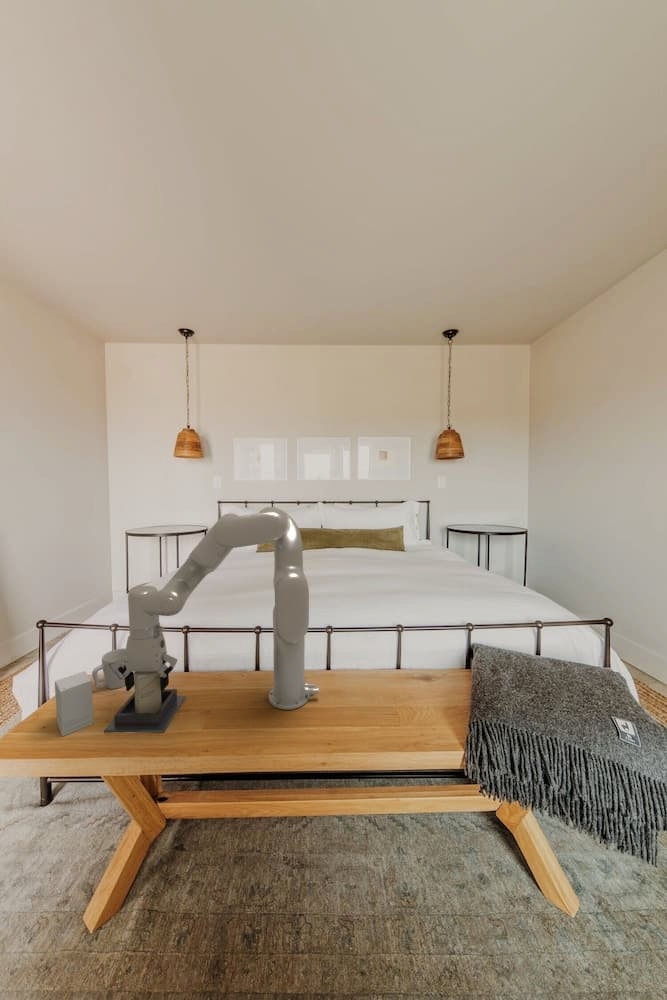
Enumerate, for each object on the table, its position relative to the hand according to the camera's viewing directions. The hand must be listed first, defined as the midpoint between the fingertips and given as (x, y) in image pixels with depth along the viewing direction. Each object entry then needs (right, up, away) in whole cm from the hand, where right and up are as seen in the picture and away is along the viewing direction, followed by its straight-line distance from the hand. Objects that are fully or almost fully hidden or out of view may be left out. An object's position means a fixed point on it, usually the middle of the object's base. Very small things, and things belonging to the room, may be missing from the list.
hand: (147, 688), depth 106 cm
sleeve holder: (0, -8, +1) cm, 8 cm away
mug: (-18, -7, +14) cm, 24 cm away
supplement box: (-18, -8, -4) cm, 20 cm away
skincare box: (0, -7, +1) cm, 7 cm away
